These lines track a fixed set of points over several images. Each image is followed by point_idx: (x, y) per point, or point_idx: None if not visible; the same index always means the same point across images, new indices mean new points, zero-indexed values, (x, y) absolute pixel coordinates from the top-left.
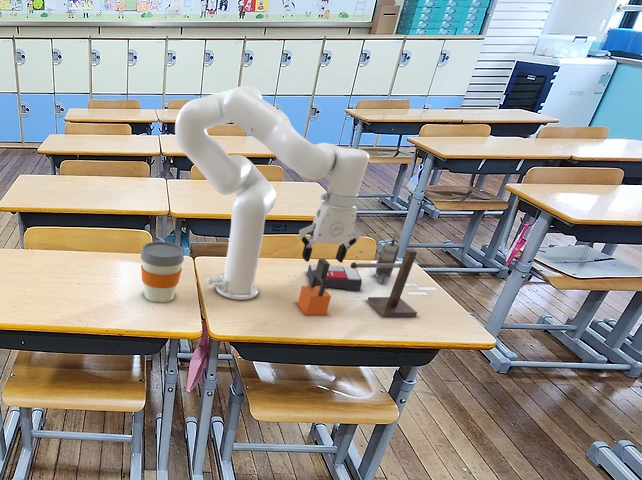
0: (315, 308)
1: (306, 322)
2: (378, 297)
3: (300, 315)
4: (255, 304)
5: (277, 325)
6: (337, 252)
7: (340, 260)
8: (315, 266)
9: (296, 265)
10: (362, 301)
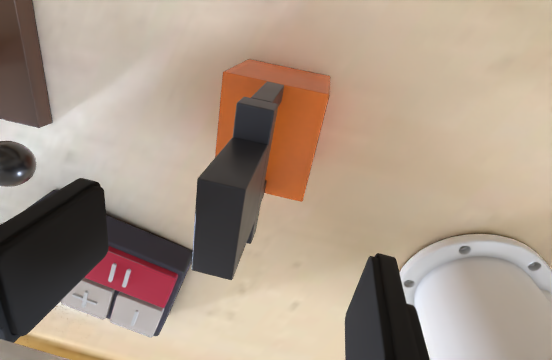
0: (294, 74)
1: (369, 11)
2: (3, 116)
3: (354, 78)
4: (472, 197)
5: (526, 10)
6: (73, 283)
7: (90, 191)
8: (144, 323)
9: (178, 351)
10: (67, 126)
